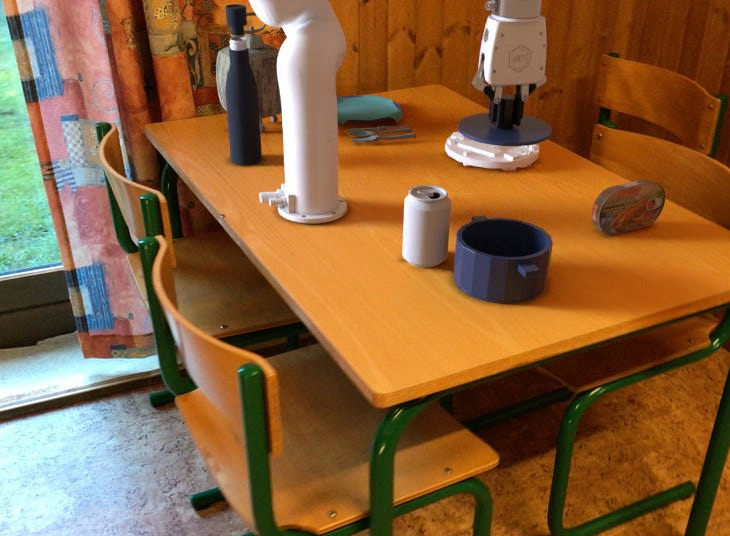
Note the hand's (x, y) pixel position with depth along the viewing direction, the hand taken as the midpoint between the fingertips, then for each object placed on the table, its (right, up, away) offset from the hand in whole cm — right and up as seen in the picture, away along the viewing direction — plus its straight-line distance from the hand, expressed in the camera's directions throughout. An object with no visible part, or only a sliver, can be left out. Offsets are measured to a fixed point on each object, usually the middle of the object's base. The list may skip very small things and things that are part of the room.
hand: (505, 123), depth 141 cm
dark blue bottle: (-49, +2, +34) cm, 59 cm away
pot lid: (0, -1, +1) cm, 1 cm away
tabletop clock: (-49, +12, +50) cm, 71 cm away
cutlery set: (-25, +16, +56) cm, 63 cm away
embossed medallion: (+3, +4, +40) cm, 40 cm away
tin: (+23, -16, +11) cm, 30 cm away
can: (-14, -23, -1) cm, 27 cm away
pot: (-2, -27, -7) cm, 28 cm away
